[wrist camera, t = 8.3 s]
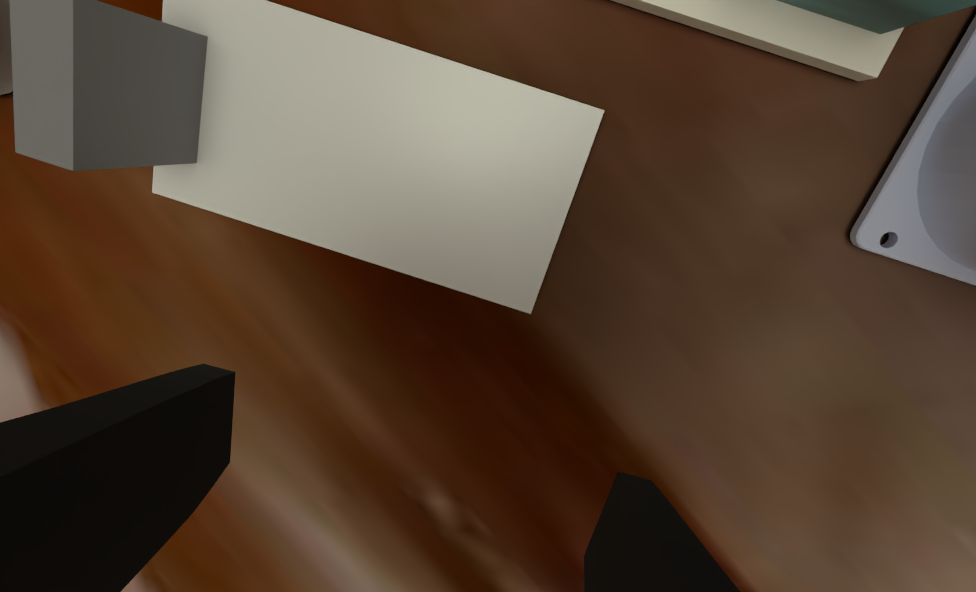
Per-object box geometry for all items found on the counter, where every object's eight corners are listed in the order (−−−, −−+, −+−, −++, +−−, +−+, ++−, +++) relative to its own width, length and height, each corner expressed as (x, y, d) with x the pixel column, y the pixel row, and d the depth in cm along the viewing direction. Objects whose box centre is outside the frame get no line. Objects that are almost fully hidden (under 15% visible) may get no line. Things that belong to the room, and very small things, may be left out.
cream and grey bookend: (601, 111, 15) (635, 96, 10) (530, 306, 17) (529, 374, 12) (183, -24, 15) (5, -109, 10) (169, 190, 17) (17, 209, 12)
